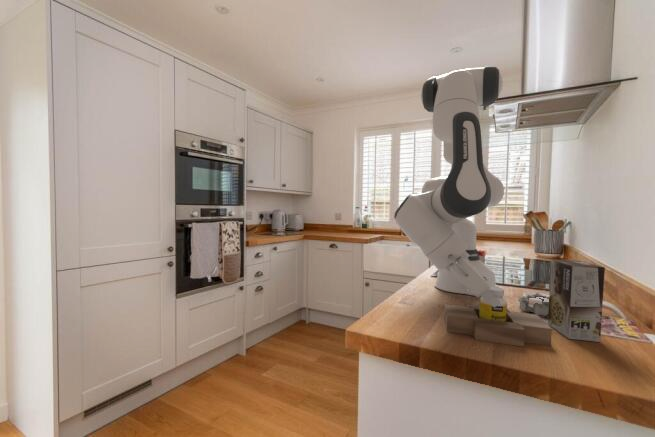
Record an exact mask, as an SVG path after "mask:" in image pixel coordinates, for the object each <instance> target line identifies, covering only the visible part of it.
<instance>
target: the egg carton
mask: <svg viewBox="0 0 655 437" xmlns="http://www.w3.org/2000/svg"><path fill="white" fill-rule="evenodd" d="M536 297H543V298H547V299H549V296H546V295H542V294H540V293H538V292H537V293H534V294H531V295H529V294H528V295H527V296H523V297H522V296H518V298H517V302H519V307H518V308H519V309H521V310H522V312H532V313H533V314H536V315H538V316H545V317H546V316H548V315H549V302H543V301H544V299H541V298H539V299H541V300H542V304H538V303H535V304H534V305H532V304H529V298H536Z"/></svg>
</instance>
